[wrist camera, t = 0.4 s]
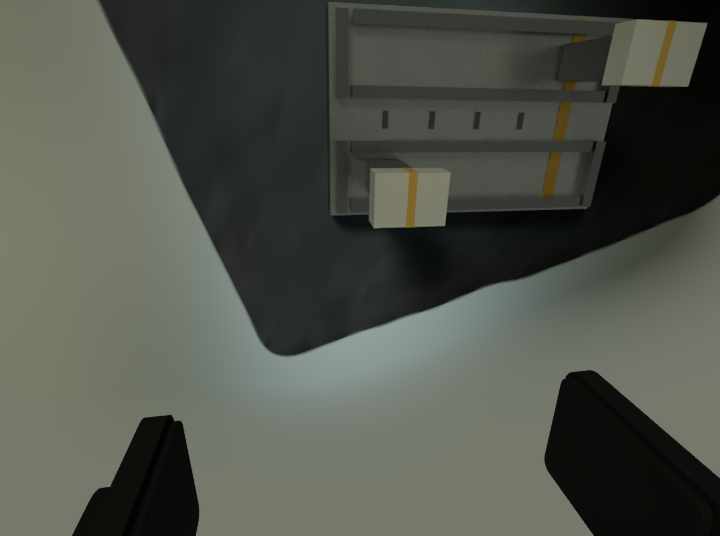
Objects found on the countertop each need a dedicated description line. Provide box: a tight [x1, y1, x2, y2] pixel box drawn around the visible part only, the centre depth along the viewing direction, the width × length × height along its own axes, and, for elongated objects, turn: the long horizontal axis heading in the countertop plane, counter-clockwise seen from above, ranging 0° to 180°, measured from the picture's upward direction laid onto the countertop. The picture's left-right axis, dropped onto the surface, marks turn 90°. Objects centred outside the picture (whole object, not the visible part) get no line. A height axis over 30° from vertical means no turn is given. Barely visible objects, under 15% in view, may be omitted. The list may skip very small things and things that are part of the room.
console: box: [326, 2, 633, 215], centre depth 31 cm, size 14×22×3 cm, turn 89°
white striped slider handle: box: [558, 19, 707, 87], centre depth 26 cm, size 3×4×8 cm
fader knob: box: [368, 160, 451, 228], centre depth 27 cm, size 3×4×8 cm
